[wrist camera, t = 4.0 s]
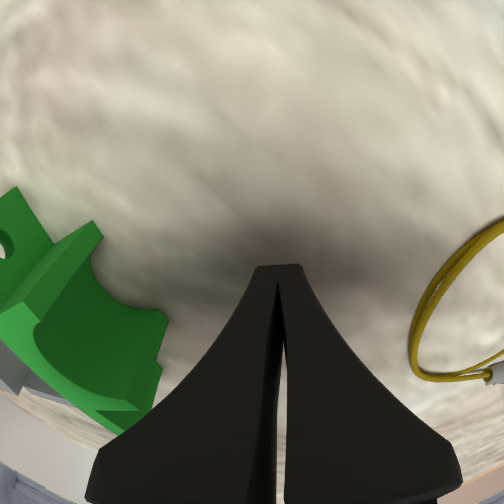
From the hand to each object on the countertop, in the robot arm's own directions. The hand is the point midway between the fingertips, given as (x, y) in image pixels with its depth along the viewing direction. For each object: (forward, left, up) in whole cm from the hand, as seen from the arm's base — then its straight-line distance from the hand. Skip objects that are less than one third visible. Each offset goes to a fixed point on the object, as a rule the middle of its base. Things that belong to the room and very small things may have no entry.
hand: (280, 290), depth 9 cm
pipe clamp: (0, +7, -1) cm, 8 cm away
